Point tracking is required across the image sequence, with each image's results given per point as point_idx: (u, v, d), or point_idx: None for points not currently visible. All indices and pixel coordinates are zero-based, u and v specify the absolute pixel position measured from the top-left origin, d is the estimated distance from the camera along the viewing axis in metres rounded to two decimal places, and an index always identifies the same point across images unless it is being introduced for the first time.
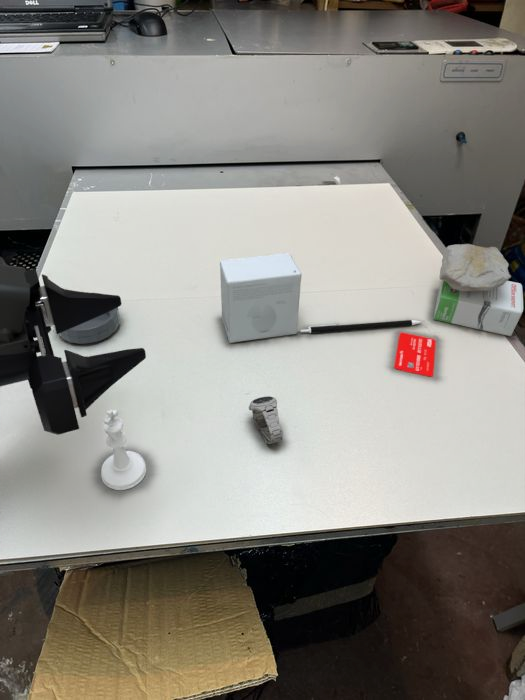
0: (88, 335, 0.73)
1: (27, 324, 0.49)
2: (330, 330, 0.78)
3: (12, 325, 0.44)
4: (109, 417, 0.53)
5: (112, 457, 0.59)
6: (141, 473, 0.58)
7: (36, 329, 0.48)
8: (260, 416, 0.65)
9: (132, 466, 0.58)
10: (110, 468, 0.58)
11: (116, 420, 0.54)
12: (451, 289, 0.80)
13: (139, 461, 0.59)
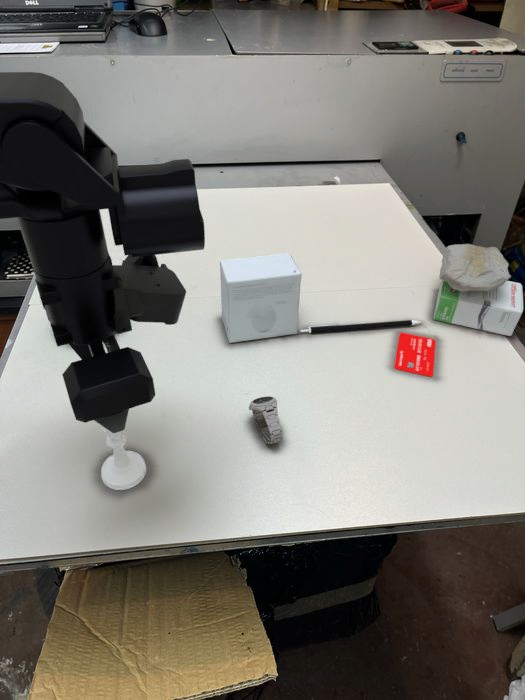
0: None
1: None
2: (330, 330, 0.78)
3: (146, 314, 0.44)
4: None
5: (112, 457, 0.59)
6: (141, 473, 0.58)
7: None
8: (260, 416, 0.65)
9: (132, 466, 0.58)
10: (110, 468, 0.58)
11: None
12: (451, 289, 0.80)
13: (139, 461, 0.59)
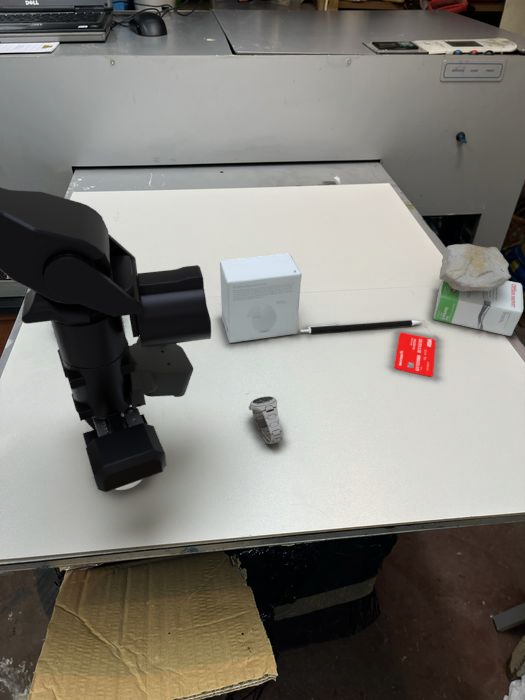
0: None
1: None
2: (330, 330, 0.78)
3: (158, 390, 0.50)
4: None
5: None
6: None
7: None
8: (260, 416, 0.65)
9: None
10: None
11: None
12: (451, 289, 0.80)
13: None
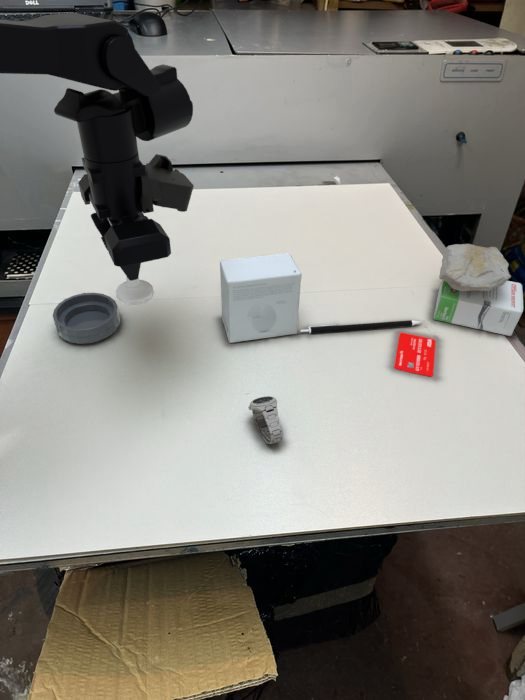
0: (88, 335, 0.73)
1: None
2: (330, 330, 0.78)
3: (163, 200, 0.60)
4: None
5: (125, 282, 0.69)
6: (150, 293, 0.68)
7: None
8: (260, 416, 0.65)
9: (142, 287, 0.68)
10: (123, 288, 0.68)
11: None
12: (451, 289, 0.80)
13: (148, 285, 0.69)
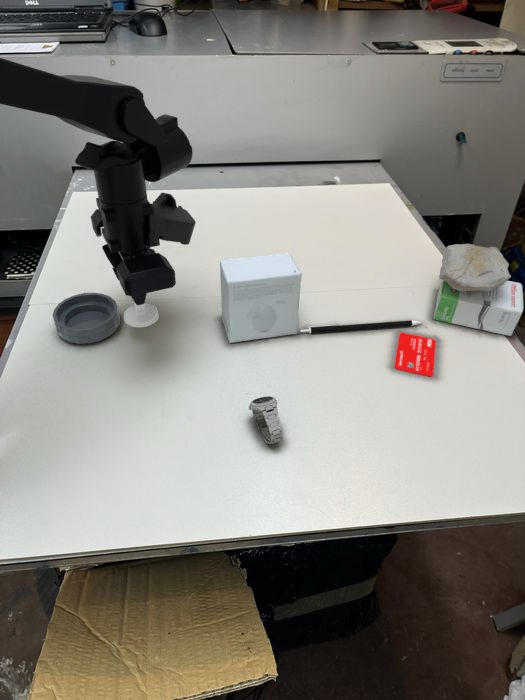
0: (88, 335, 0.73)
1: None
2: (330, 330, 0.78)
3: (169, 235, 0.67)
4: None
5: (132, 306, 0.76)
6: (155, 316, 0.74)
7: None
8: (260, 416, 0.65)
9: (147, 311, 0.74)
10: (130, 312, 0.74)
11: None
12: (451, 289, 0.80)
13: (153, 308, 0.75)
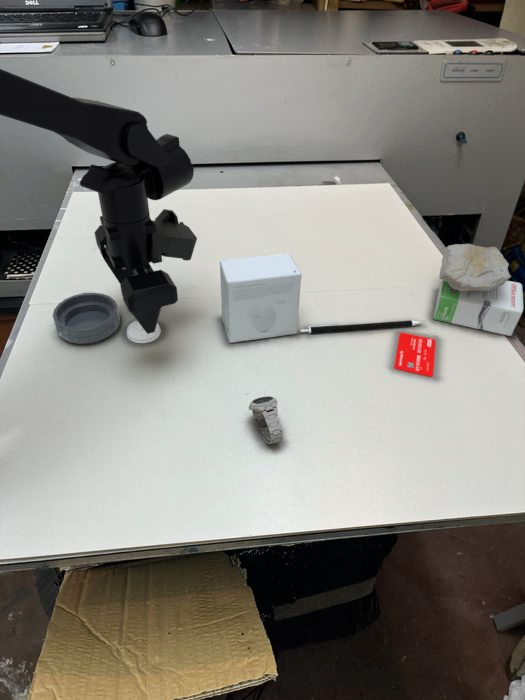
0: (88, 335, 0.73)
1: None
2: (330, 330, 0.78)
3: (171, 252, 0.68)
4: None
5: (134, 322, 0.77)
6: (157, 332, 0.76)
7: None
8: (260, 416, 0.65)
9: None
10: (133, 328, 0.76)
11: None
12: (451, 289, 0.80)
13: None
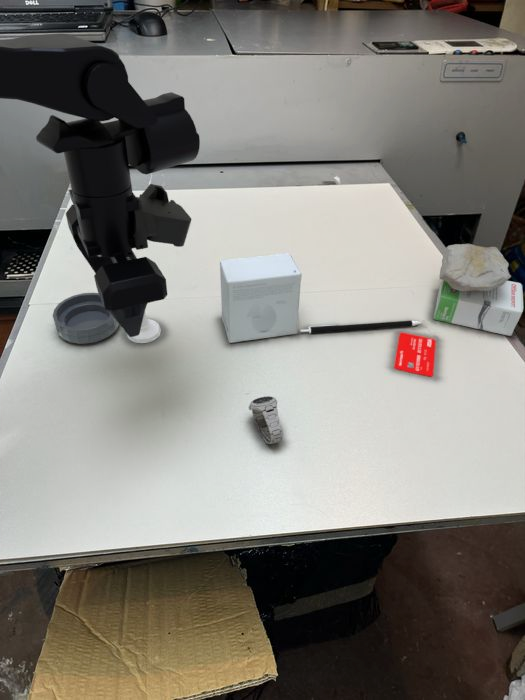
0: (88, 335, 0.73)
1: None
2: (330, 330, 0.78)
3: (159, 235, 0.55)
4: None
5: None
6: (157, 332, 0.76)
7: None
8: (260, 416, 0.65)
9: (150, 327, 0.76)
10: None
11: None
12: (451, 289, 0.80)
13: (155, 324, 0.77)
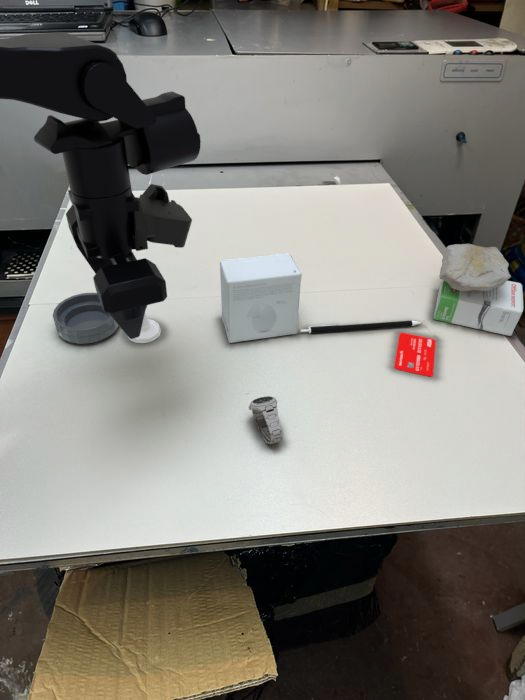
0: (88, 335, 0.73)
1: None
2: (330, 330, 0.78)
3: (159, 236, 0.54)
4: None
5: None
6: (157, 332, 0.76)
7: None
8: (260, 416, 0.65)
9: (150, 327, 0.76)
10: None
11: None
12: (451, 289, 0.80)
13: (155, 324, 0.77)
